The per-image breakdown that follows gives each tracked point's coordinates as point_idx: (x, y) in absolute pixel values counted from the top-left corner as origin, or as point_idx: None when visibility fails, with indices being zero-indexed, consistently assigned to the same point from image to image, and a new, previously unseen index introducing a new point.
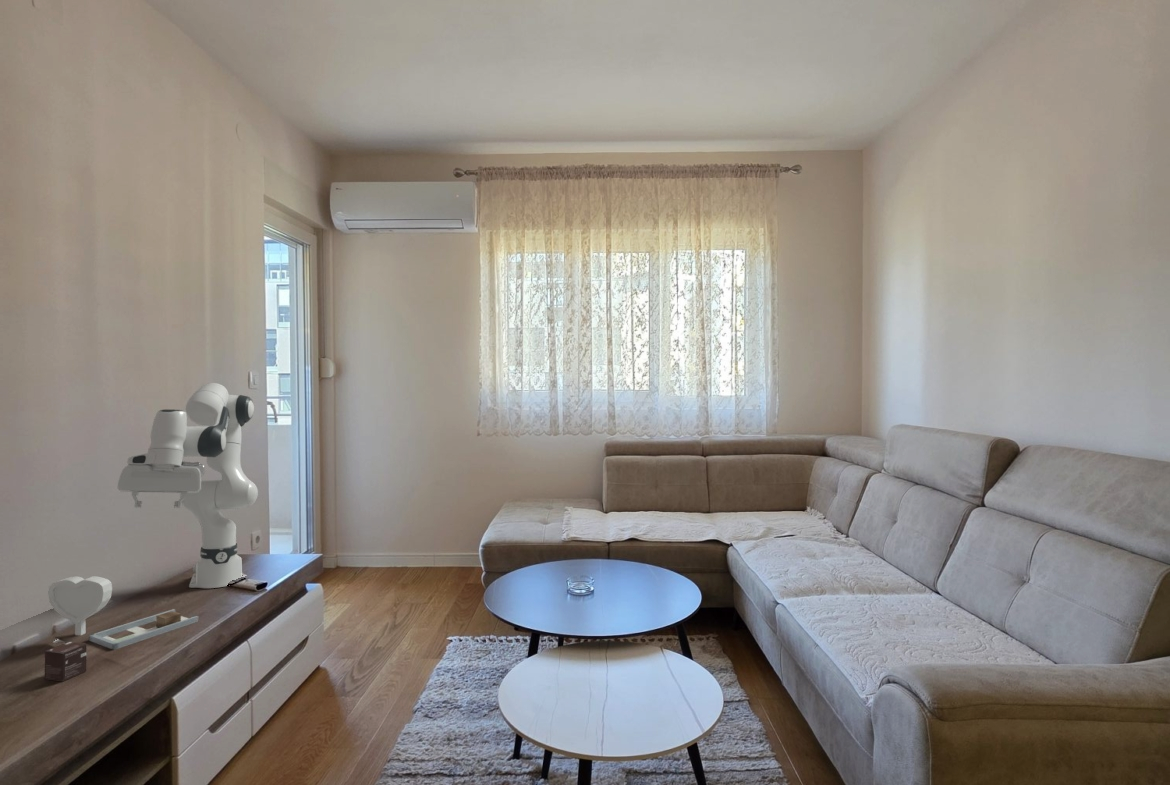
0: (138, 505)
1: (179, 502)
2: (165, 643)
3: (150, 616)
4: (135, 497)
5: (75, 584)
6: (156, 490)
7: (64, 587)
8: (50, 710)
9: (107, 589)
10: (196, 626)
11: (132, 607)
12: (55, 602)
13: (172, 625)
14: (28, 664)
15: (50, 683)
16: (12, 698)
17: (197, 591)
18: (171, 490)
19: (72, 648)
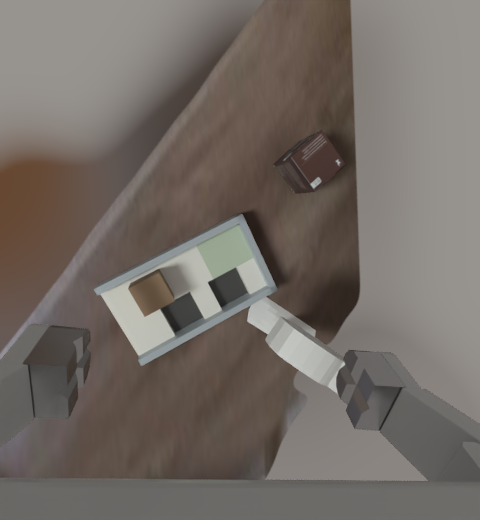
0: (370, 354)
1: (18, 350)
2: (159, 220)
3: (183, 341)
4: (449, 415)
5: (343, 361)
6: (299, 482)
7: None
8: (311, 33)
9: (279, 335)
10: None
11: (209, 457)
12: None
13: (145, 262)
14: (340, 251)
15: None
16: (351, 122)
17: None
18: (66, 483)
19: (310, 146)
